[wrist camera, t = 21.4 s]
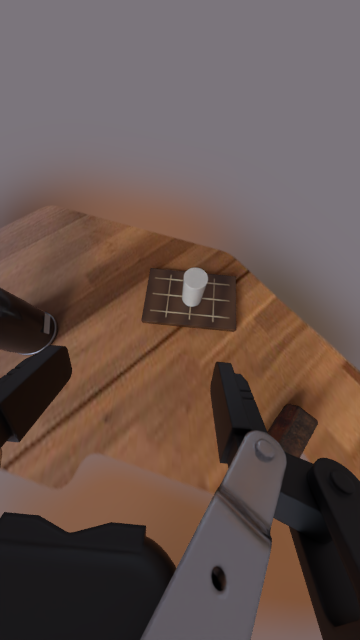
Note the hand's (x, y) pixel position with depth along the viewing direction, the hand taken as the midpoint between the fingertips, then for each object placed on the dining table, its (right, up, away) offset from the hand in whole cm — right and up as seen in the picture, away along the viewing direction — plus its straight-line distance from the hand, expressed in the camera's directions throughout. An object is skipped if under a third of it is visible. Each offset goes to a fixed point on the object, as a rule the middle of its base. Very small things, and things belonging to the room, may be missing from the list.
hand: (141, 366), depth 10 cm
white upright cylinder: (+5, +7, +30) cm, 31 cm away
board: (+5, +7, +32) cm, 33 cm away
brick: (+20, -18, +24) cm, 36 cm away
